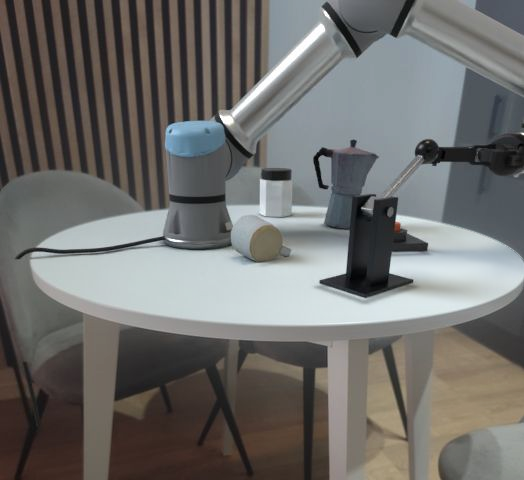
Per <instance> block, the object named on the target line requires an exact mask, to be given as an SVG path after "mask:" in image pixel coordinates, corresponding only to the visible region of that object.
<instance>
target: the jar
mask: <svg viewBox="0 0 524 480" xmlns="http://www.w3.org/2000/svg"><path fill="white" fill-rule="evenodd" d="M292 172H293V171H292V169H291V168H285V167H264V168H261V171H260V176H261V178H259V214H260V215H261V216H263V217H265V218H286V217H290V216H292V213H293V188H294V187H293V186H294V180H293V179H292Z"/></svg>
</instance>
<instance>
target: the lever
mask: <svg viewBox="0 0 524 480" xmlns="http://www.w3.org/2000/svg"><path fill="white" fill-rule="evenodd" d="M439 147H440V146H439V145H438V142H437V141H436V140H434V139H432V138H424V139H422V140H421V141H418V143H417V145H416V146H415V149H414V158H413V159H412V160H411V161H410V162H409V164H408V165H407V166H405V168H404V169H403V170H402V171H401V172H400V173H399V174H398V175H397V176H396V178H395V179H394V180H393V181H392V182H390V184H389V185H388V186H387V187H386V188H385V190H384V191H383V192H382V193H381V194H380V195H379V196H376V197H375V196H371V197H370V198H369V199H368V200H367V202H366V203H365V204H364V205H363V206H362V207H361V211H362V213H363V216H364V219H365V221H370V222H372V217H373V207H374V199H380V198H388V197H394V195H396V193H397V192H398V191H399V190H400V189H401V188H402V187H403V186H404V184H405V183H406V182H407V181H408V180H409V179H410V178H411V177H412V175H414V173H415V172H416V171H417V170H418V169H419V168H420V167H421V166H422V165H429V164H428V163H431V162H433V161H434V160H435V159H436V158H437V156H438V154H439ZM422 163H423V164H422Z"/></svg>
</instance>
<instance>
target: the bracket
mask: <svg viewBox="0 0 524 480" xmlns="http://www.w3.org/2000/svg"><path fill="white" fill-rule="evenodd" d="M371 196H375V197H377V194H375V193H366V194H361V195H357V196H352V208H351V220H350V229H349V232H348V233H349V234H348V245H347V258H346V267H345V273H342V274H338V275H335V276H331V277H330V276H329V277H326V278H323V279H319V282H318V283H319V284H320V285H323V286H326V287H329V288H332V289H335V290H339V291H341V292H344V293H348V294H351V295H354V296H357V297H360V298H362V299H366V298H369V297H372V296H376V295H379V294H381V293H385V292H389V291H392V290H394V289H397V288H401V287H404V286H407V285H411V284H413V283H414V279H413V278H409V277H406V276H401V275H398V274H394V273H390V272H391V271H390V270H391V261H392V253H393V252H392V246H393V238H394V230H395V222H397V221H396V220H397V213H398V206H399V205H398V204H399V197H397V196H392V197H388V198H380V199H374V207H373V217H372V222H370V221H365V219H364V216H363V213H362V211H361V207H362V206H363V205H364V204H365V203H366V202H367V200H368V199H369V198H370V197H371Z"/></svg>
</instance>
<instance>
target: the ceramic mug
mask: <svg viewBox="0 0 524 480" xmlns="http://www.w3.org/2000/svg"><path fill="white" fill-rule="evenodd" d="M231 243H232V244H231V245H232V248H233V250H235V252H237V253H238V254H240V255H242V256H243V257H246V258H248V259H250V260H252V261H253V262H256V263H264V262H268V261H269V262H270V261H273V260H276V258H277V257H278V256H279V255H280V256H283V257H285V258H287V257H290V255H291V253H292V249H290V248H289V247H287V246H284V239H283V235H282V232H281V231H280V230H279V229H278V227H277V226H275V224H273V223H271V222H269V221H267V220H265V219H263V218H261V217H259V216H258V215H256V214H245V215H243V216H241V217H239V218H238V219H237V220H236V221H235V222H234V224H233V228H232V230H231Z"/></svg>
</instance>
